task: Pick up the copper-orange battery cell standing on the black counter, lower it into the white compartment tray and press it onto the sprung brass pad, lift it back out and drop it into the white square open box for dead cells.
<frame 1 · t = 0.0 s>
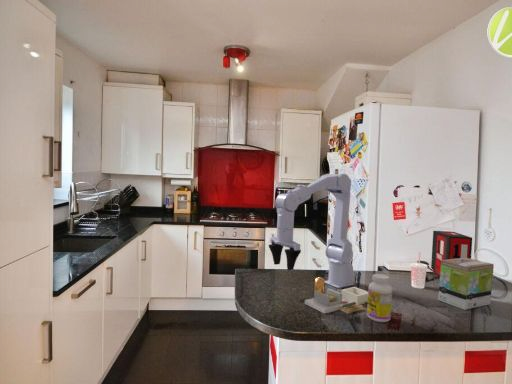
hand: (283, 266, 112), 10 cm above the countertop, fingers open, 7 cm apart
cell: (319, 295, 114), on the countertop
cleaning product box: (448, 278, 142), on the countertop
pad: (328, 297, 105), point 3 cm above the countertop, slide at 0.0 cm
tea box: (464, 303, 112), on the countertop
white compartment tray: (327, 305, 105), on the countertop
supplement bottle: (378, 318, 96), on the countertop
trough: (351, 309, 102), on the countertop
white square open box: (355, 300, 110), on the countertop
beverage cup: (417, 287, 129), on the countertop
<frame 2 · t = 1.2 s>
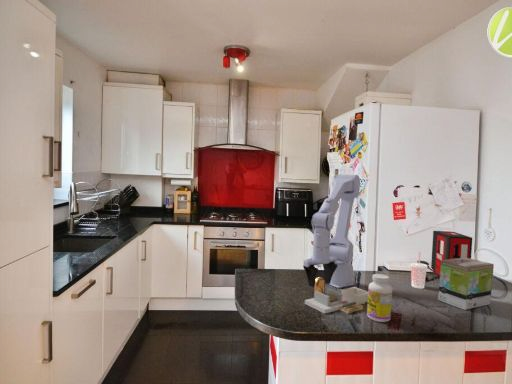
hand: (319, 284, 113), 4 cm above the countertop, fingers open, 7 cm apart
nothing on the countertop moved.
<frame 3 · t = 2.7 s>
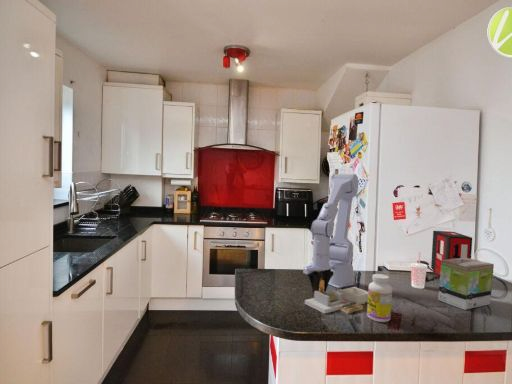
hand: (319, 291, 113), 1 cm above the countertop, fingers closed on cell, 3 cm apart
cell: (319, 295, 114), on the countertop, touching gripper
everything else where it was.
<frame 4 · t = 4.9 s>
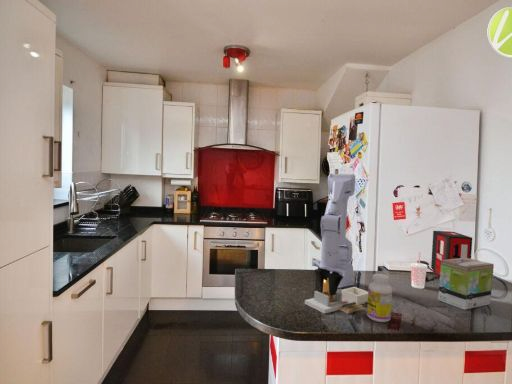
hand: (328, 292, 105), 4 cm above the countertop, fingers closed on cell, 3 cm apart
cell: (327, 297, 104), point 3 cm above the countertop, touching gripper, pad
pad: (327, 299, 105), point 2 cm above the countertop, slide at -0.5 cm, touching cell
everything else where it was.
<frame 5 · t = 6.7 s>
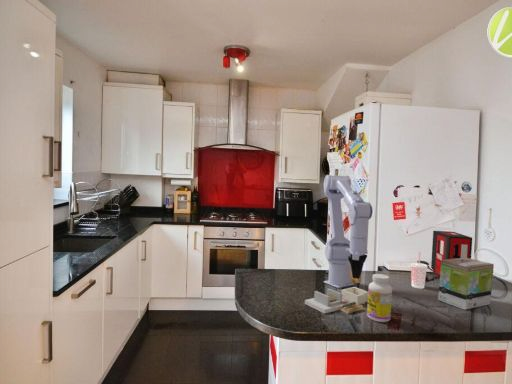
hand: (356, 276, 110), 8 cm above the countertop, fingers closed on cell, 3 cm apart
cell: (355, 281, 110), point 7 cm above the countertop, touching gripper
pad: (327, 299, 105), point 2 cm above the countertop, slide at -0.5 cm
everything else where it was.
when the fingers open (3 cm above the countertop, at t = 8.3 s): cell drops 1 cm, resting on white square open box.
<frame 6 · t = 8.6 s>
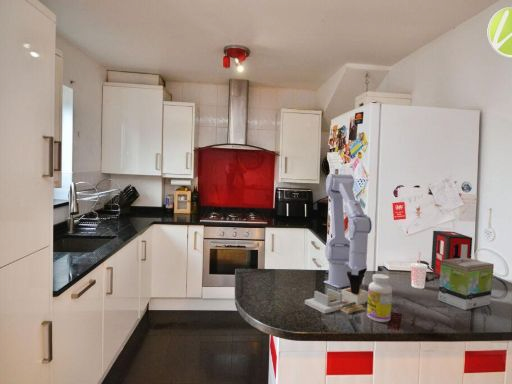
hand: (356, 290, 110), 3 cm above the countertop, fingers open, 6 cm apart
cell: (354, 298, 110), resting on white square open box
everything else where it was.
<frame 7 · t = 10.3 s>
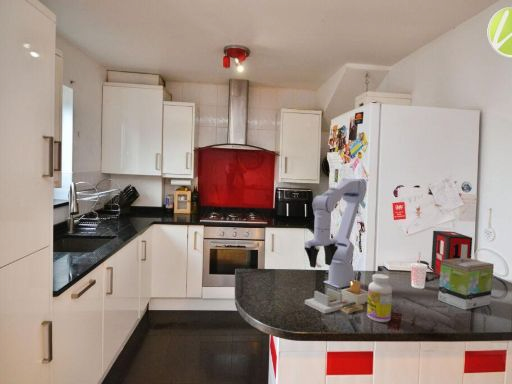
hand: (320, 265, 116), 10 cm above the countertop, fingers open, 7 cm apart
nothing on the countertop moved.
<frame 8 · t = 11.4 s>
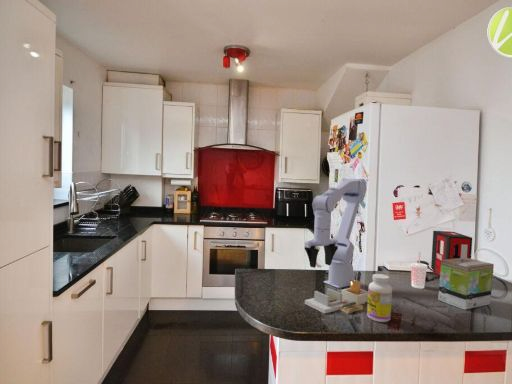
hand: (320, 265, 116), 10 cm above the countertop, fingers open, 7 cm apart
nothing on the countertop moved.
at the end: cell 0.4 cm off-centre on the white square open box, point 0.5 cm above the white square open box's base; the gripper is holding nothing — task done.
